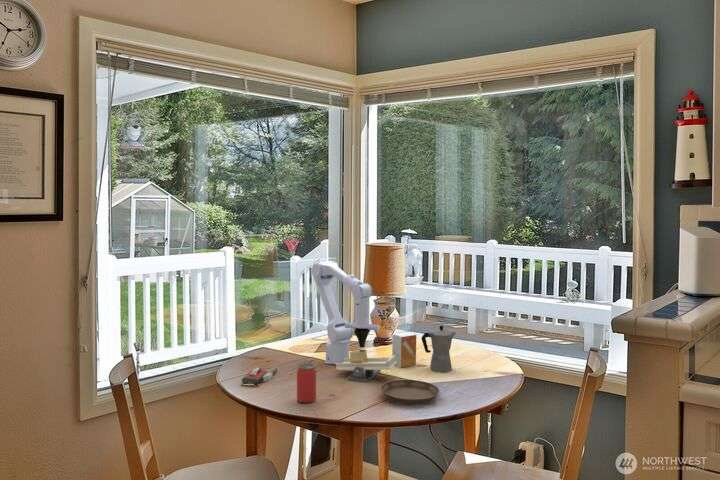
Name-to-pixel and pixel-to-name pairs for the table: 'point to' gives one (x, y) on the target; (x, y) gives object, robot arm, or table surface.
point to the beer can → (306, 383)
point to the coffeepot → (439, 349)
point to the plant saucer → (409, 391)
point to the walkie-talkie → (257, 376)
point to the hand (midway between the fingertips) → (362, 346)
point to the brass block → (358, 356)
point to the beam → (368, 364)
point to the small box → (404, 349)
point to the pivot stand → (362, 374)
